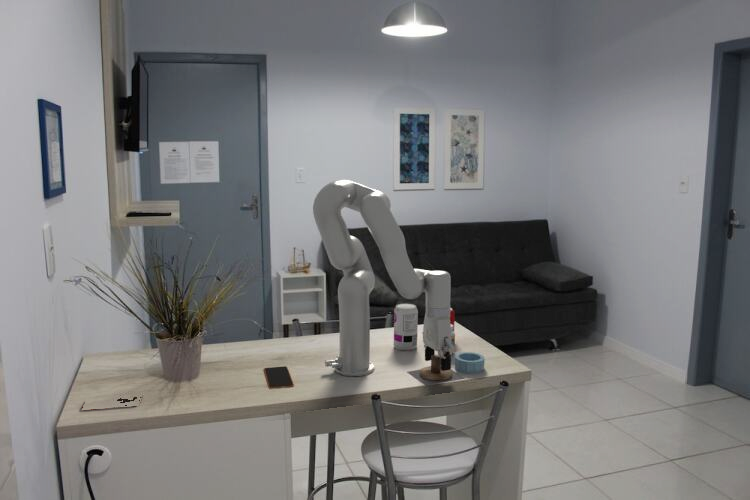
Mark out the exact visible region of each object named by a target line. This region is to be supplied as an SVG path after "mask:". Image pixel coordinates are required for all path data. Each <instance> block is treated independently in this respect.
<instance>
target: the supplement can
mask: <svg viewBox="0 0 750 500" xmlns="http://www.w3.org/2000/svg"><path fill="white" fill-rule="evenodd" d="M393 312H394V313H393V316H394V318H393V346H394V347H395V349H397V350H400V351H412V350H415V349H416V348H417V347H418V327H419V326H418V322H419V321H418V320H419V316H418V314H419V310H418V308H417V305H415V304H412V303H399V304H396V305H395V308H394V310H393Z"/></svg>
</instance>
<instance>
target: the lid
mask: <svg viewBox="0 0 750 500" xmlns="http://www.w3.org/2000/svg"><path fill="white" fill-rule="evenodd" d="M441 358H442V355H438V354H435V355H432V356H431V360H430V366H424V367H422V368H420V369H419V370H420V377H422V378H423V379H426V380H430V381H445V380H448V379H450V378H451V377H452V371H451V370H452V369H451V370H446V371H441Z"/></svg>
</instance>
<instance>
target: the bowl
mask: <svg viewBox="0 0 750 500" xmlns="http://www.w3.org/2000/svg"><path fill="white" fill-rule="evenodd" d="M454 369H455V370H456V371H458V372H461V373H465V374H479V373H482V372H483V371H484V369H485V356H484V355H483V354H481V353H477V352H472V351H463V352H458V353H456V354H455V355H454Z"/></svg>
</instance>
